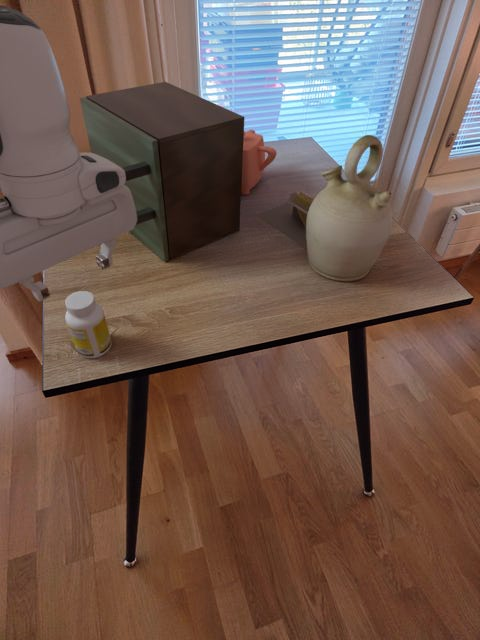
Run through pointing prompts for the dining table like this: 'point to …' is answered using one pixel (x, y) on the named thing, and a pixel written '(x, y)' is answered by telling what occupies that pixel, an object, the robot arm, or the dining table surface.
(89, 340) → the supplement bottle
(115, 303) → the dining table surface
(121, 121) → the cupboard door
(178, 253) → the cupboard
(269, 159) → the teapot
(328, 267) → the jug
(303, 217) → the platform
